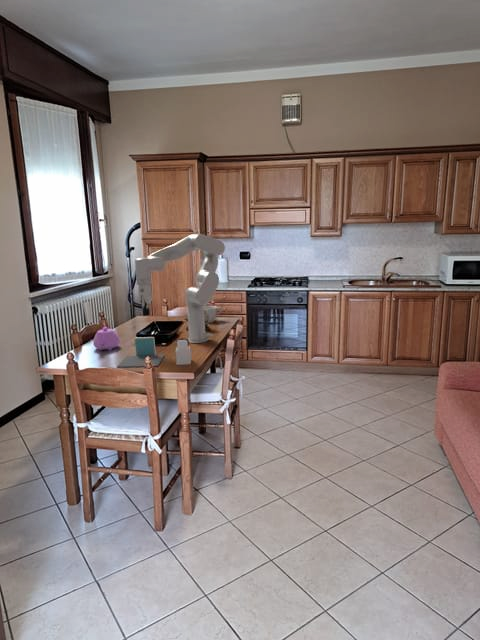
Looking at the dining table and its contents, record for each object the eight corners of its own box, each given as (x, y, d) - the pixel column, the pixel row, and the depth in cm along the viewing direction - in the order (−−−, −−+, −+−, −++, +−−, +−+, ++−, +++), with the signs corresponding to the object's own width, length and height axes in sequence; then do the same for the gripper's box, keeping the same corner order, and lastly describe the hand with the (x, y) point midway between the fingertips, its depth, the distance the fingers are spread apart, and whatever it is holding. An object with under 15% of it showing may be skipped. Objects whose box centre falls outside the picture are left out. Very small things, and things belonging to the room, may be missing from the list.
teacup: (221, 323, 300) (221, 308, 297) (199, 323, 300) (199, 309, 298) (222, 319, 311) (222, 305, 309) (201, 319, 312) (200, 305, 309)
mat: (164, 355, 232) (164, 354, 232) (157, 366, 215) (157, 365, 215) (126, 356, 233) (126, 355, 232) (117, 367, 216) (117, 366, 216)
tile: (155, 355, 234) (154, 336, 232) (155, 356, 233) (153, 337, 230) (137, 355, 234) (135, 337, 232) (136, 356, 233) (134, 338, 231)
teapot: (111, 354, 238) (109, 332, 236) (86, 354, 240) (83, 332, 238) (125, 343, 258) (123, 323, 255) (102, 343, 260) (99, 323, 257)
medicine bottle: (177, 360, 223) (175, 337, 221) (191, 359, 224) (189, 337, 221) (176, 365, 216) (174, 341, 214) (190, 364, 217) (189, 340, 214)
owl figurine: (180, 331, 283) (179, 304, 279) (190, 327, 293) (188, 301, 290) (205, 333, 275) (203, 306, 272) (214, 328, 286) (213, 302, 282)
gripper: (147, 283, 226) (150, 318, 230) (153, 279, 241) (156, 312, 245) (133, 283, 226) (135, 318, 231) (140, 279, 241) (142, 312, 245)
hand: (146, 315), depth 238 cm, fingers closed
